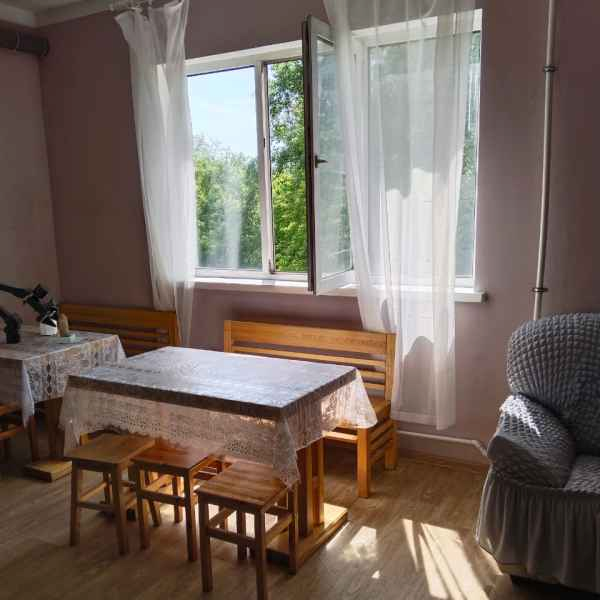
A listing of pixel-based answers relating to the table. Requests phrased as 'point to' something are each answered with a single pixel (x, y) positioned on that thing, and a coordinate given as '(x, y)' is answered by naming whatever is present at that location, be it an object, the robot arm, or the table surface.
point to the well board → (65, 339)
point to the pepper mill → (63, 326)
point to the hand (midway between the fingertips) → (59, 324)
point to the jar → (48, 328)
